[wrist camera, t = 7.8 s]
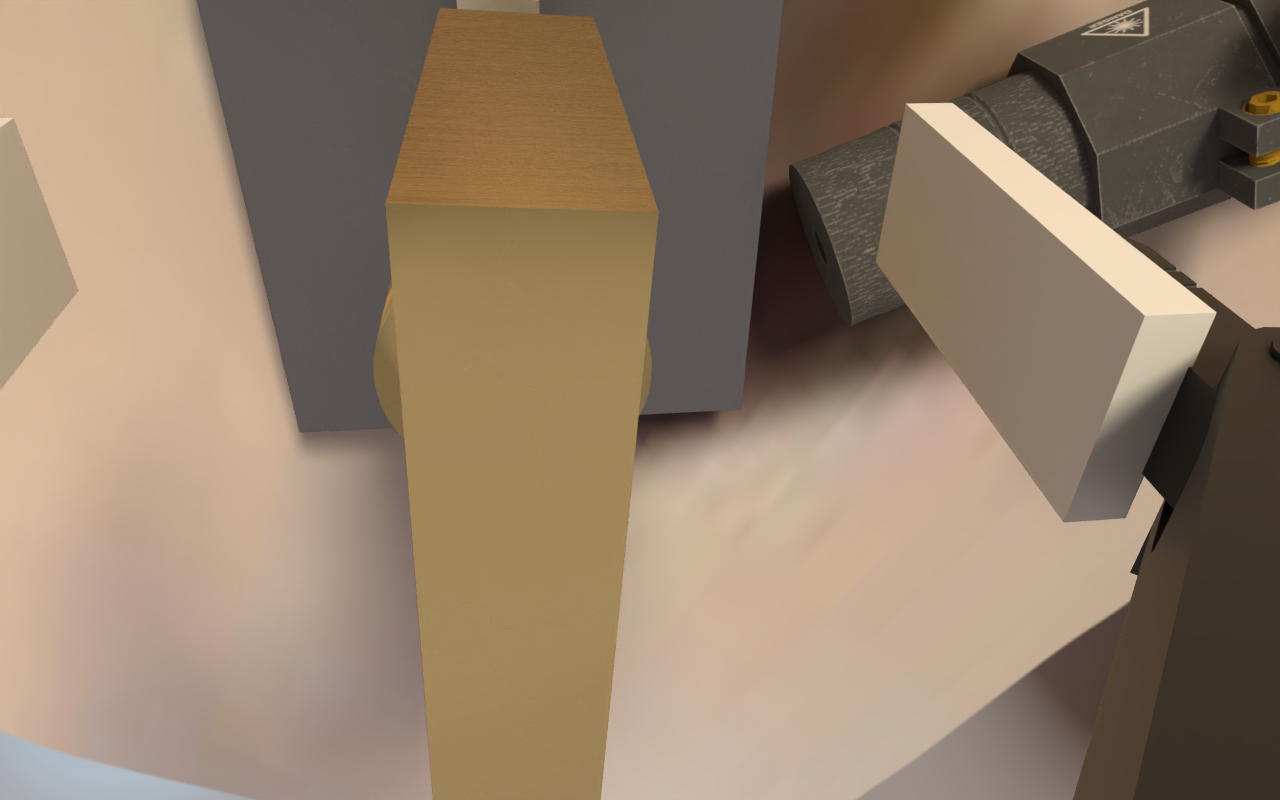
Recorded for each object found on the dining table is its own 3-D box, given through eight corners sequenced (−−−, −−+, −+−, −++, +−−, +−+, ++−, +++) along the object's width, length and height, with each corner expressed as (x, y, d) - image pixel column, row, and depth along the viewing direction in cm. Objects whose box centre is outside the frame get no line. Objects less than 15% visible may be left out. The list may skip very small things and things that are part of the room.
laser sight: (757, 78, 30) (850, 199, 21) (1475, -222, 27) (1892, -215, 19) (828, 318, 35) (924, 486, 27) (1429, 87, 33) (1736, 197, 24)
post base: (201, -80, 25) (111, -33, 19) (772, -76, 27) (844, -32, 21) (309, 400, 34) (270, 528, 28) (730, 380, 36) (772, 496, 30)
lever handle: (410, 521, 29) (352, 967, 18) (365, -39, 20) (197, 197, 9) (613, 517, 30) (672, 940, 19) (660, -19, 20) (822, 217, 10)
